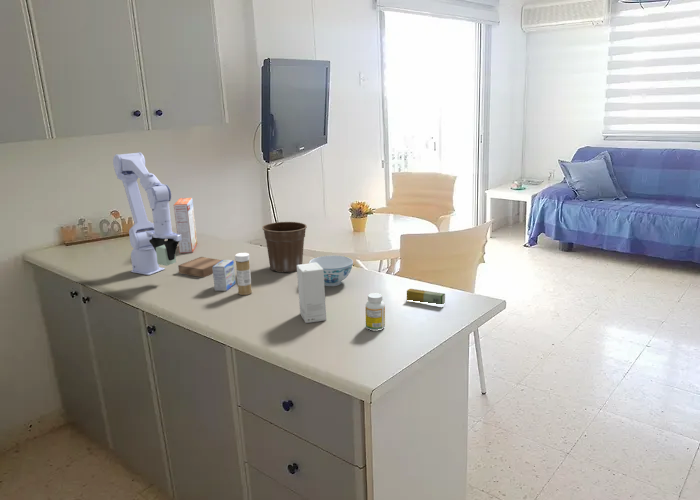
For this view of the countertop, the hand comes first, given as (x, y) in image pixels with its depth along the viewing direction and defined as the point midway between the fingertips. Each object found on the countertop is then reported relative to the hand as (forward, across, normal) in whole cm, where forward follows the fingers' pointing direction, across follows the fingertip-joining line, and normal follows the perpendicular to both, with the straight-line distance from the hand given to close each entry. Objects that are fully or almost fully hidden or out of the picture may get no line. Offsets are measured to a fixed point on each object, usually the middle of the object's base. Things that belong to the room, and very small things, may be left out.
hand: (166, 258), depth 198 cm
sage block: (+2, 0, 0) cm, 2 cm away
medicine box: (+9, +22, +4) cm, 24 cm away
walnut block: (+8, +2, +15) cm, 17 cm away
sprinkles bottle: (+9, +32, +2) cm, 33 cm away
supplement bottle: (+9, +83, -5) cm, 84 cm away
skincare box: (+9, +63, -6) cm, 64 cm away
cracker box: (+9, -25, +36) cm, 45 cm away
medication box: (+9, +89, +18) cm, 91 cm away
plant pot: (+9, +29, +31) cm, 43 cm away
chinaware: (+9, +53, +23) cm, 58 cm away
